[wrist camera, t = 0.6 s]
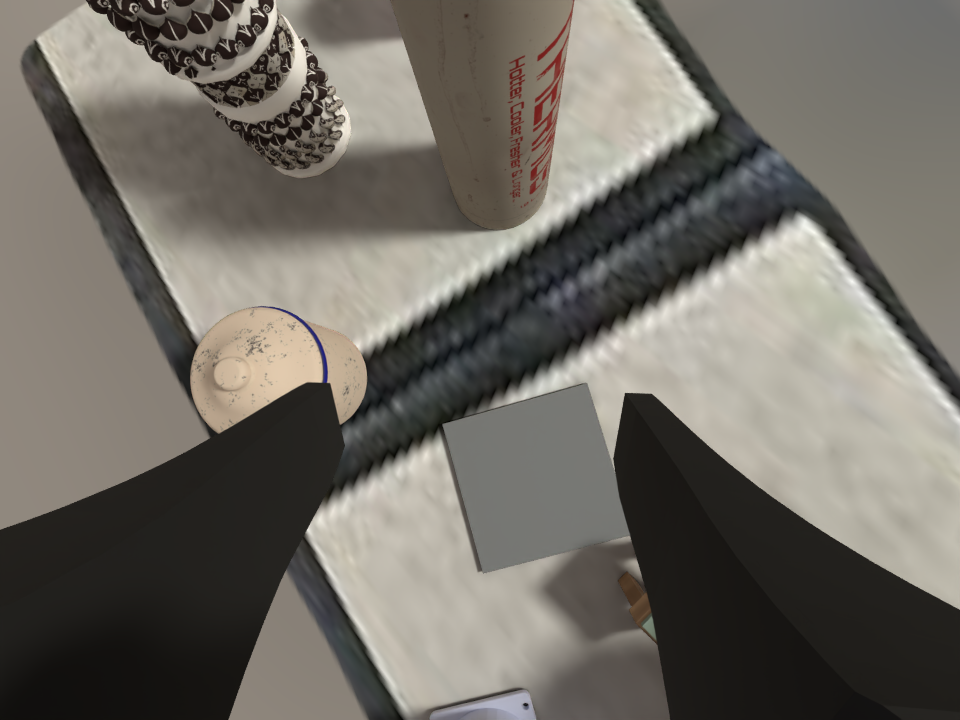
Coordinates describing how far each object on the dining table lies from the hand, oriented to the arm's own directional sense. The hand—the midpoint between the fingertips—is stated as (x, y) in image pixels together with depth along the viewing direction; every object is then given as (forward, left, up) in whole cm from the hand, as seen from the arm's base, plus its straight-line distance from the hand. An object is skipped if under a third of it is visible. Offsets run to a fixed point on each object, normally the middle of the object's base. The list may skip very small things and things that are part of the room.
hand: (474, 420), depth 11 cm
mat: (-6, -1, -24) cm, 25 cm away
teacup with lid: (+5, +14, -25) cm, 29 cm away
